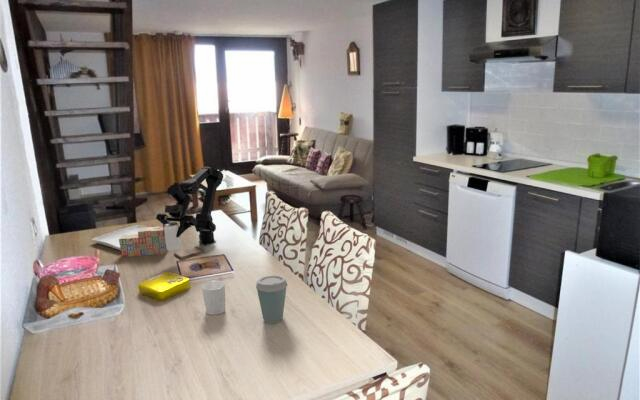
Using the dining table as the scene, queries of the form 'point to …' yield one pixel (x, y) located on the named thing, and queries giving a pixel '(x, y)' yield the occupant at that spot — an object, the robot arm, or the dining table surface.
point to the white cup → (214, 297)
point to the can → (172, 236)
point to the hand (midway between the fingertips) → (170, 236)
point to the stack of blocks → (144, 242)
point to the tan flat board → (189, 252)
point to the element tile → (164, 286)
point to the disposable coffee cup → (272, 297)
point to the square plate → (117, 236)
